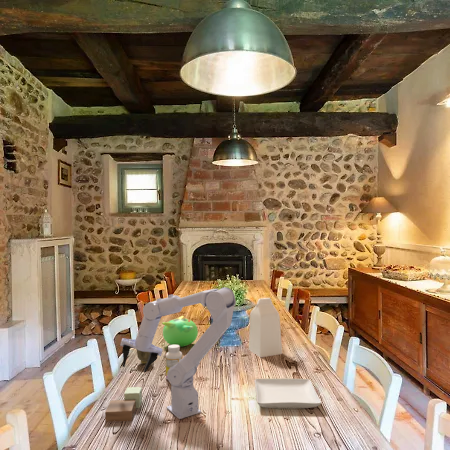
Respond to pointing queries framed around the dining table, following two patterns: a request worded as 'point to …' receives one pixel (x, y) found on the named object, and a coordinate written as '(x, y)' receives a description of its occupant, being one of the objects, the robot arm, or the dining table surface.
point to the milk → (265, 329)
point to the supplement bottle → (172, 357)
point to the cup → (143, 356)
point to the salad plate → (286, 393)
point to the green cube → (134, 395)
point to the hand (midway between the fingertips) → (134, 367)
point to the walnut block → (120, 410)
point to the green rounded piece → (180, 331)
